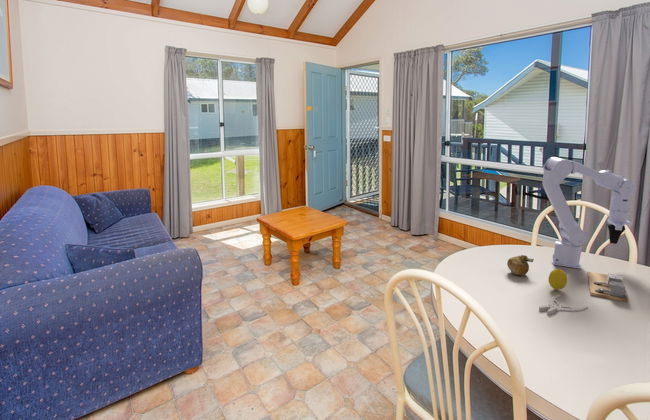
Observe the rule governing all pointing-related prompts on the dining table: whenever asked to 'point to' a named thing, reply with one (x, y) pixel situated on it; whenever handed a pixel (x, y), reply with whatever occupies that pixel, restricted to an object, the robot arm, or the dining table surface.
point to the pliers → (553, 308)
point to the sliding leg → (611, 279)
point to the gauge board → (601, 286)
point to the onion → (519, 264)
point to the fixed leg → (615, 289)
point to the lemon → (557, 279)
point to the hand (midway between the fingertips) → (613, 243)
